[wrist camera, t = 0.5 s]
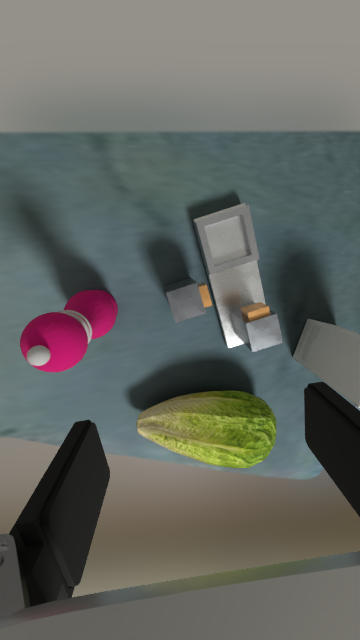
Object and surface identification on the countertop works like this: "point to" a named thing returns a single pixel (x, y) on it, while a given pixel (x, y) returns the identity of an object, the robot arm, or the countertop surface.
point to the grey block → (187, 299)
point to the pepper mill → (68, 331)
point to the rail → (236, 278)
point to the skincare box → (332, 356)
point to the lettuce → (213, 427)
